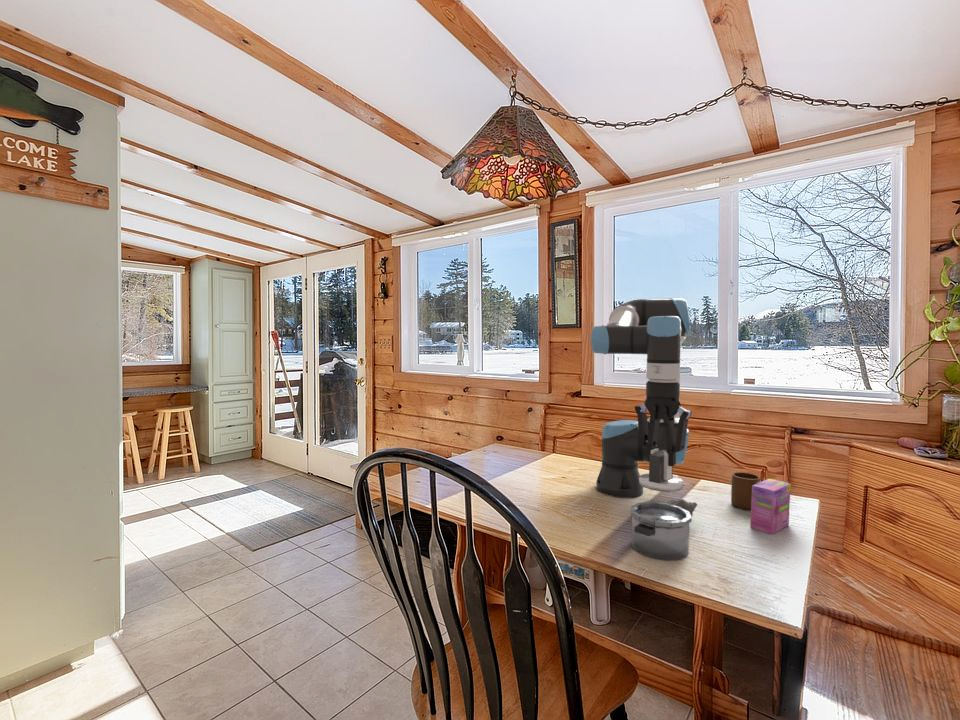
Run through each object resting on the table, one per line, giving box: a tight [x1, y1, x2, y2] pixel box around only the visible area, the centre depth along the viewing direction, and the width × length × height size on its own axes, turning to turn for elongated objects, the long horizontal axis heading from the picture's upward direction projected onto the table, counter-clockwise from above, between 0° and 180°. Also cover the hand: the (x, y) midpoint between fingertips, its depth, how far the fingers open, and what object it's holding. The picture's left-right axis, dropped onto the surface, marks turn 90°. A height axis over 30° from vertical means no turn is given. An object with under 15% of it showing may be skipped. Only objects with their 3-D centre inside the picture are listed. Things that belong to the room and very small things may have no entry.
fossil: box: [666, 498, 698, 518], centre depth 129 cm, size 11×9×8 cm
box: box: [749, 478, 792, 535], centre depth 128 cm, size 10×6×12 cm, turn 126°
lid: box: [639, 450, 684, 493], centre depth 115 cm, size 10×10×8 cm
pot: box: [630, 501, 693, 562], centre depth 115 cm, size 14×18×9 cm
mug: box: [730, 471, 761, 511], centre depth 142 cm, size 12×8×9 cm, turn 10°
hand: (660, 477), depth 115 cm, fingers closed on lid, 3 cm apart
